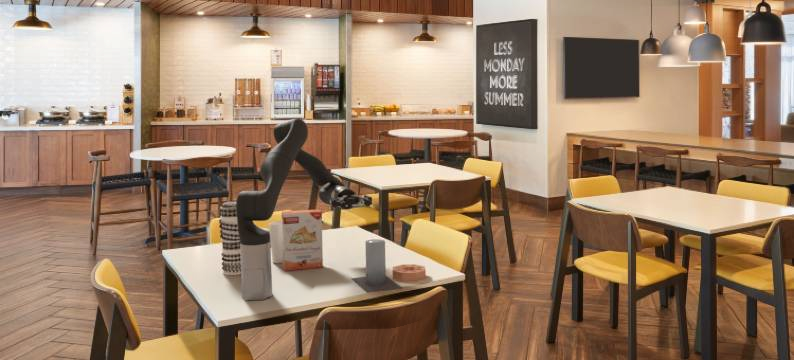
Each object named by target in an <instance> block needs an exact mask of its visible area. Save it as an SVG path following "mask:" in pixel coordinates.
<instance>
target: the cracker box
mask: <svg viewBox="0 0 794 360" xmlns="http://www.w3.org/2000/svg"><path fill="white" fill-rule="evenodd" d="M322 214H323V212H322V211H321V210H320V209H303V210H300V209H299V210H286V211H285V210H283V211H281V221H282V246H283V263H282V268H283V269H284V271H294V270H295V271H296V270H308V269H323V267H324V265H323V264H324V259H323V258H324V257H323V256H324V254H323V253H324V250H323V215H322Z"/></svg>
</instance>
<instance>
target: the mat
mask: <svg viewBox="0 0 794 360" xmlns="http://www.w3.org/2000/svg"><path fill="white" fill-rule="evenodd" d="M350 279H351V280H352V281H353V282H354V283H356V285H357V286H358V287H360V289H362V290H363V291H364V292H366V293H367V294H370V293H371V294H372V293H376V292H377V293H379V292H384V291H385V292H386V291H393V290H401V289H402V290H403V289H404V288H403V287H402V286H401V285H399V284H398V283H396V282H395V281H394V280H393V279H391V278H389V276H387V275H386V284H384V285H381V286H370V285H367V284H366V276H360V277H351V278H350Z"/></svg>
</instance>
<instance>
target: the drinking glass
mask: <svg viewBox="0 0 794 360" xmlns="http://www.w3.org/2000/svg"><path fill="white" fill-rule="evenodd" d="M268 226H269V227H268V229H269V234H270V243H271V245H270V247H271V262H272V263H273V264H283V246H282V220H280V221H279V220H278V221H270V222H269V224H268Z"/></svg>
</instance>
